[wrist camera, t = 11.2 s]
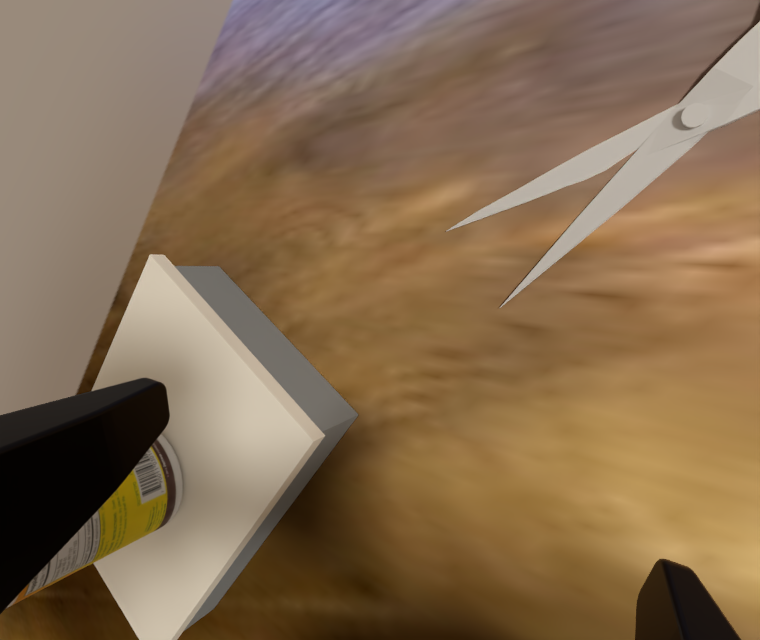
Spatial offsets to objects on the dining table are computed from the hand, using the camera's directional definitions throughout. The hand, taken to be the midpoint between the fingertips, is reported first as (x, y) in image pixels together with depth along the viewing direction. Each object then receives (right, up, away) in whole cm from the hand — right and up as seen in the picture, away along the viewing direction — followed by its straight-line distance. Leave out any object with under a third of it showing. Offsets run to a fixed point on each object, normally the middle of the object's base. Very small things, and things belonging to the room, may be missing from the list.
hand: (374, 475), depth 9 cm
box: (-10, -5, +21) cm, 24 cm away
